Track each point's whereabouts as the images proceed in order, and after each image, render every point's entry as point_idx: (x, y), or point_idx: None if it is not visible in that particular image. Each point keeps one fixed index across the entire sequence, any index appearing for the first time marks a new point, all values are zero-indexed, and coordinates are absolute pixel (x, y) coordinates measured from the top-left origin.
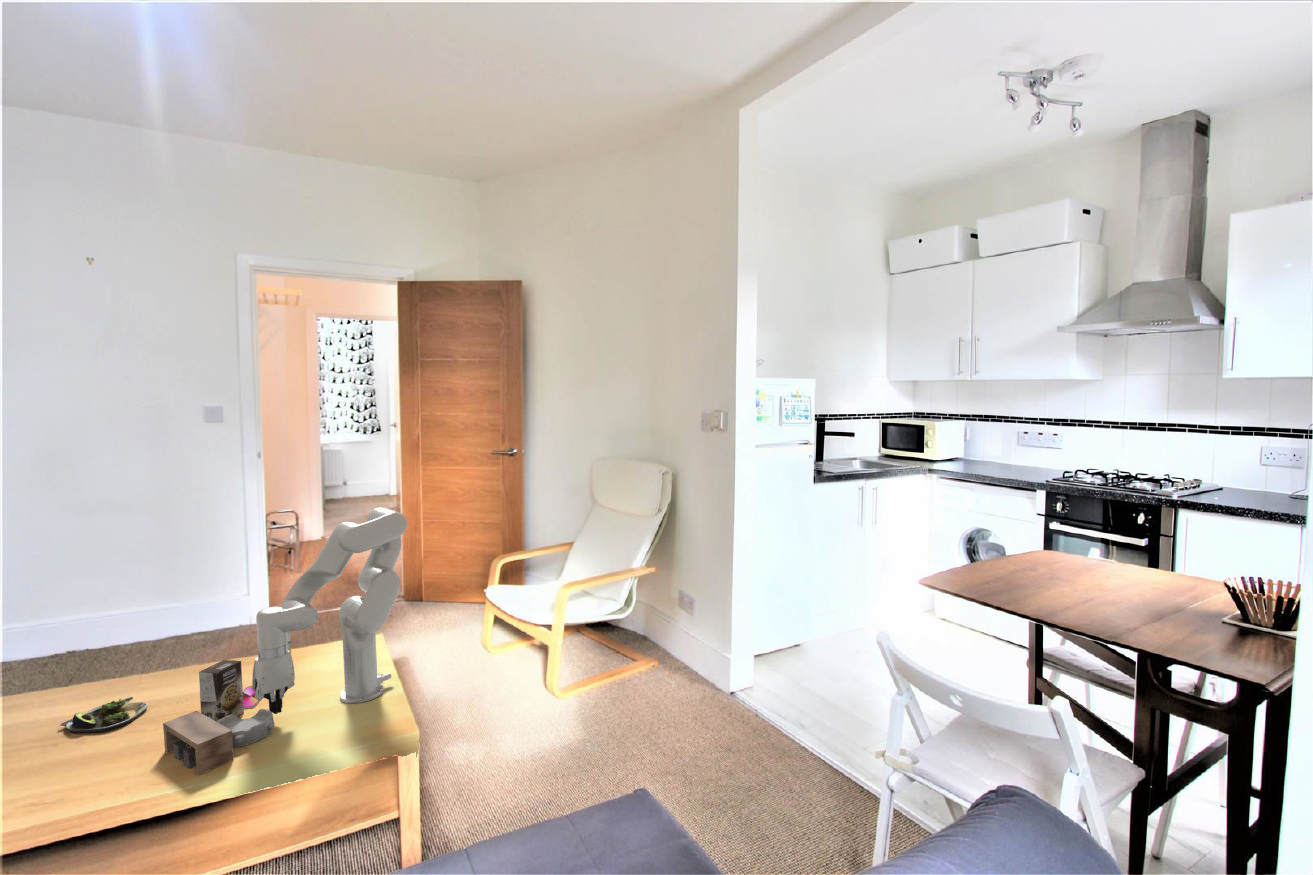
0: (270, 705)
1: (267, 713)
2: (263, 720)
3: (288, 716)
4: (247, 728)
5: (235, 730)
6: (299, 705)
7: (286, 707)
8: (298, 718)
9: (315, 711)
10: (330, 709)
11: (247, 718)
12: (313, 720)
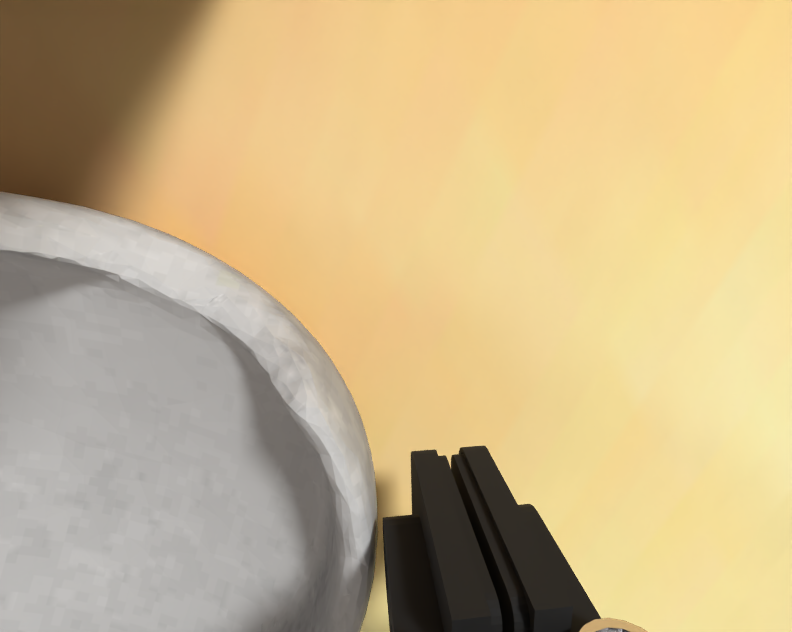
0: (390, 622)
1: (337, 540)
2: (297, 476)
3: (547, 399)
4: (140, 435)
5: (12, 396)
6: (738, 260)
7: (655, 185)
8: (568, 501)
9: (711, 493)
10: (781, 549)
11: (170, 298)
12: (604, 614)
